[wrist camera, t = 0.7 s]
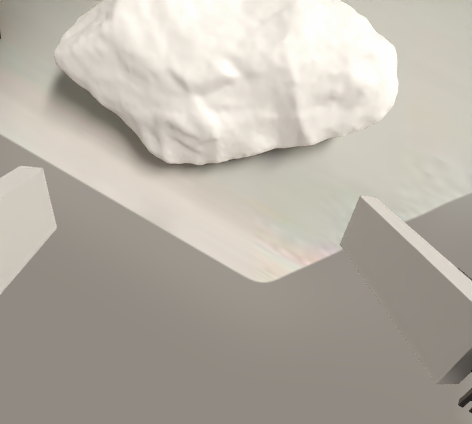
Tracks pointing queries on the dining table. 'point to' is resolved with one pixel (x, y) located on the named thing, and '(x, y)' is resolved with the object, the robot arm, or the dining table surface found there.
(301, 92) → the crumpled cloth
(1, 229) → the robot arm
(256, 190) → the dining table surface
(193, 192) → the dining table surface
